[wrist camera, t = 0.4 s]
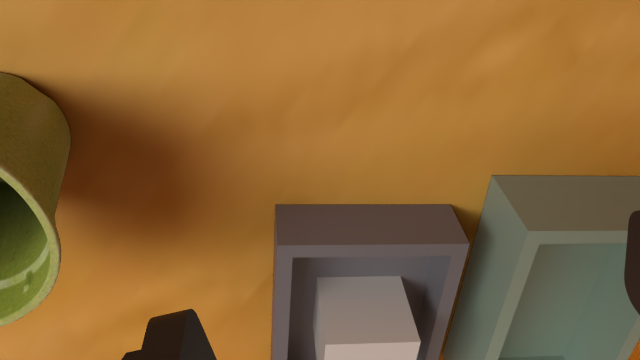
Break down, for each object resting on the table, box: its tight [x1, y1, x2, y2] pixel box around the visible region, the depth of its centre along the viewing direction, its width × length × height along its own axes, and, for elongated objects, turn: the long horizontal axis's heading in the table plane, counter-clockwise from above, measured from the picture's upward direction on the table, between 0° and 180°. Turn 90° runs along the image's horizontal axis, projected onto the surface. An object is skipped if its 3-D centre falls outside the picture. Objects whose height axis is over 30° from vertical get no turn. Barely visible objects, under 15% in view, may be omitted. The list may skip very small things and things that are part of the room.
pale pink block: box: [313, 276, 421, 360], centre depth 32 cm, size 4×5×5 cm
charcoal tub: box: [271, 205, 470, 360], centre depth 34 cm, size 13×10×4 cm
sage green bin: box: [442, 175, 640, 360], centre depth 34 cm, size 15×9×5 cm, turn 176°
